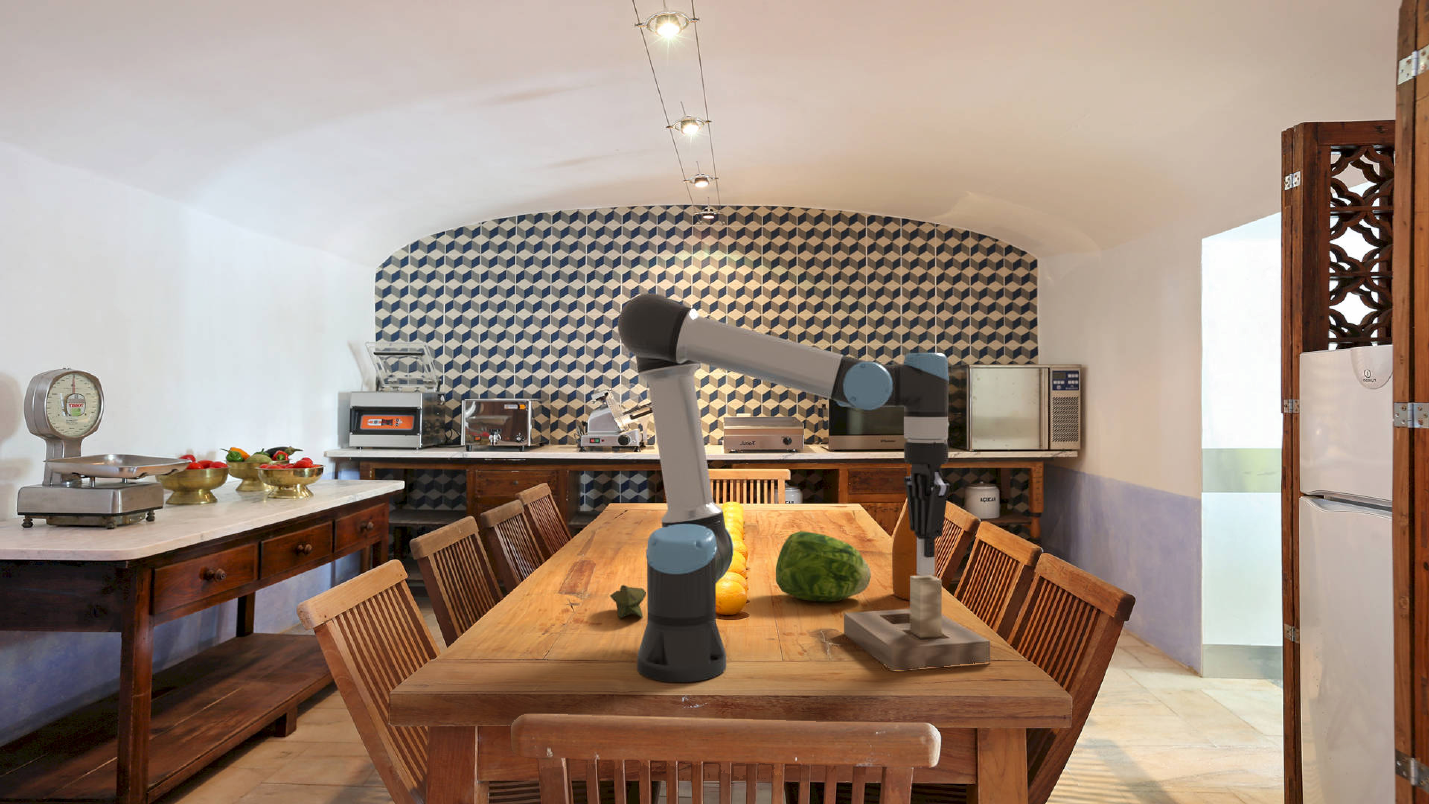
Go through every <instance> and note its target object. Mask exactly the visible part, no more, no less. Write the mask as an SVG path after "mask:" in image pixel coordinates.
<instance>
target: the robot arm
mask: <svg viewBox="0 0 1429 804" xmlns="http://www.w3.org/2000/svg"><path fill="white" fill-rule="evenodd" d="M617 321H618V322H617V331H618V337H619V339H620V341H621V343H622V344H623V346H624V347H625V348H626V349H627V351H629V353H631V354H633V355H634V356H635V360H636V367H637V373H638V376H639V377H641V378H642V379H643V380H645V381H646V382H647V384H648V390H649V397H650V403H651V409H652V416H653V421H654V422H653V423H654V429H655V435H656V441H657V442H656V443H657V447H658V454H659V455H658V456H659V462H660V467H661V474H662V480H663V486H664V487H663V488H664V493H665V499H666V506H667V511H666V512H665V513H664V515H663V516H662V517H661V527H659V528H656V529H655V530H653V531H652V533H651V534H650V535H649V536H648V538H647V547H646V554H645V555H646V556H645V558H646V579H647V581H646V582H647V583H646V585H647V586H646V587H647V588H646V596H647V599H646V600H647V601H646V602H647V603H646V605H647V607H646V608H647V620H646V621H647V624H646V625H645V629H644V633H643V635H642V639H641V643H640V645H639V649H638V652H637V657H636V658H637V659H636V666H637V667H636V669H637V671H638V673H639V672H640V673H639V674H640V675H642V676H643V677H645V678H648V679H651V680H655V681H660V682H668V683H691V682H692V683H693V682H700V681H705V680H709V679H713V678H715V677H717V676H720V675H721V674H723V673H724V672H725V671H726V669H727V652H726V649H725V647H724V643H723V640H722V636H721V634H720V631H719V628H718V624H717V612H716V611H717V609H716V608H717V607H716V606H717V597H716V592H717V591H716V590H717V585H716V584H717V583H718V582H719V581H720V580H721V579H722V578H723V577H724V576H725V575H726V573H727V572H728V571H729V569H730V566H731V565H732V561H733V557H734V543H733V539H732V537H731V535H730V533H729V531H728V529H727V527H726V522H725V516H724V510H723V508H721V507H720V506H719V505H717V504H716V503H715V502H714V499H713V493H712V491H713V490H712V486H711V479H710V473H709V466H708V462H707V461H708V460H707V455H706V449H705V441H704V434H703V430H702V429H703V427H702V422H701V417H700V415H701V414H700V409H699V403H698V396H697V391H696V390H697V389H696V384H695V379H694V376H695V374H696V372H697V371H698V369H699V368H700V367H701V364H703V365H706V366H710V367H713V368H717V369H721V370H725V371H729V372H732V373H734V374H735V373H736V374H739V375H742V376H746V377H750V378H754V379H756V380H757V379H758V380H759V381H760V380H761V381H764V382H768V383H772V384H775V385H778V386H782V387H786V388H788V389H789V388H790V389H794V390H797V391H801V392H804V393H807V394H811V395H815V396H819V397H822V398H827V399H830V400H833V401H834V402H835V401H836V404H838V406H840V407H847V408H853V409H855V408H858V409H860V410H865V411H872V410H876V409H879V408H890V407H891V408H892V407H894V408H899V407H903V408H904V412H903V413H904V415H903V438H904V439H906V440H907V441H905V443H903V445H904V447H903V448H904V449H903V456H904V457H903V458H904V459H903V460H904V462H905V463H907V464H910V465H912V467H911V475H910V477H908V476H904V477H903V482H904V486H905V490H906V503H907V502H908V512H909V522H910V529H911V531H915V536H917V574H918V575H920V576H926V575H935V543H936V539H937V538H938V537H939V538H940V537H942V536H943V532H944V524H945V519H946V518H945V517H946V508H947V503H948V502H947V501H948V496H949V493H950V490H951V484H949V483H944V481H943V480H942V479H943V472H942V467H941V466H942V465H946V464H947V463H948V462H949V444H948V442H945V441H946V440H947V439H949V426H950V422H949V390H950V389H949V387H950V385H949V383H950V382H949V381H950V378H949V363H948V357H947V356H946V355H945V354H944V353H941V352H918V353H917V352H915V353H914V352H911V353H910V352H909V353H907V354H906V355H904V360H903V361H902V362H903V363H902V364H901V363H900V364H881V363H878V362H876V361H870V360H863V359H859V358H855V357H852V356H847V355H843V354H841V353H836V352H834V351H829V350H826V349H822V348H818V347H815V346H812V345H811V346H810V345H808V344H803V343H800V342H796V341H793V340H789V339H785V338H782V337H777V336H774V335H771V334H767V333H762V332H759V331H755V330H751V329H748V328H744V327H740V326H735V325H733V324H730V323H729V324H728V323H725V322H721V321H718V320H715V319H711V318H707V317H703V316H700V314H699V313H698V311H697V309H696V308H692V307H689V306H686V305H685V304H683V303H682V302H680V301H678V300H675V299H672V298H669V297H667V296H664V295H662V294H658V293H649V292H648V293H643V294H639V295H637V296H635V297H633V298H632V299H630V300H629V301H628V302H627V303H626V304H625V305H624V306H623V307H622V309H621V311H620V314H619V316H618V320H617ZM724 670H725V671H724ZM723 671H724V672H723ZM722 672H723V673H722ZM719 674H720V675H719Z"/></svg>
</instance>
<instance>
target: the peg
mask: <svg viewBox="0 0 1429 804" xmlns="http://www.w3.org/2000/svg"><path fill="white" fill-rule="evenodd" d="M942 585H943V580H942V579H940V578H938V577H937V576H936V577H934V576H932V575H926V576H910V600H909V609H910V636H911V637H913V638H914V639H916V640H917V641H920V640H934V639H942V615H943V614H942V611H943V608H942V598H943V596H942V592H943V590H942V587H943V586H942Z"/></svg>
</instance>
